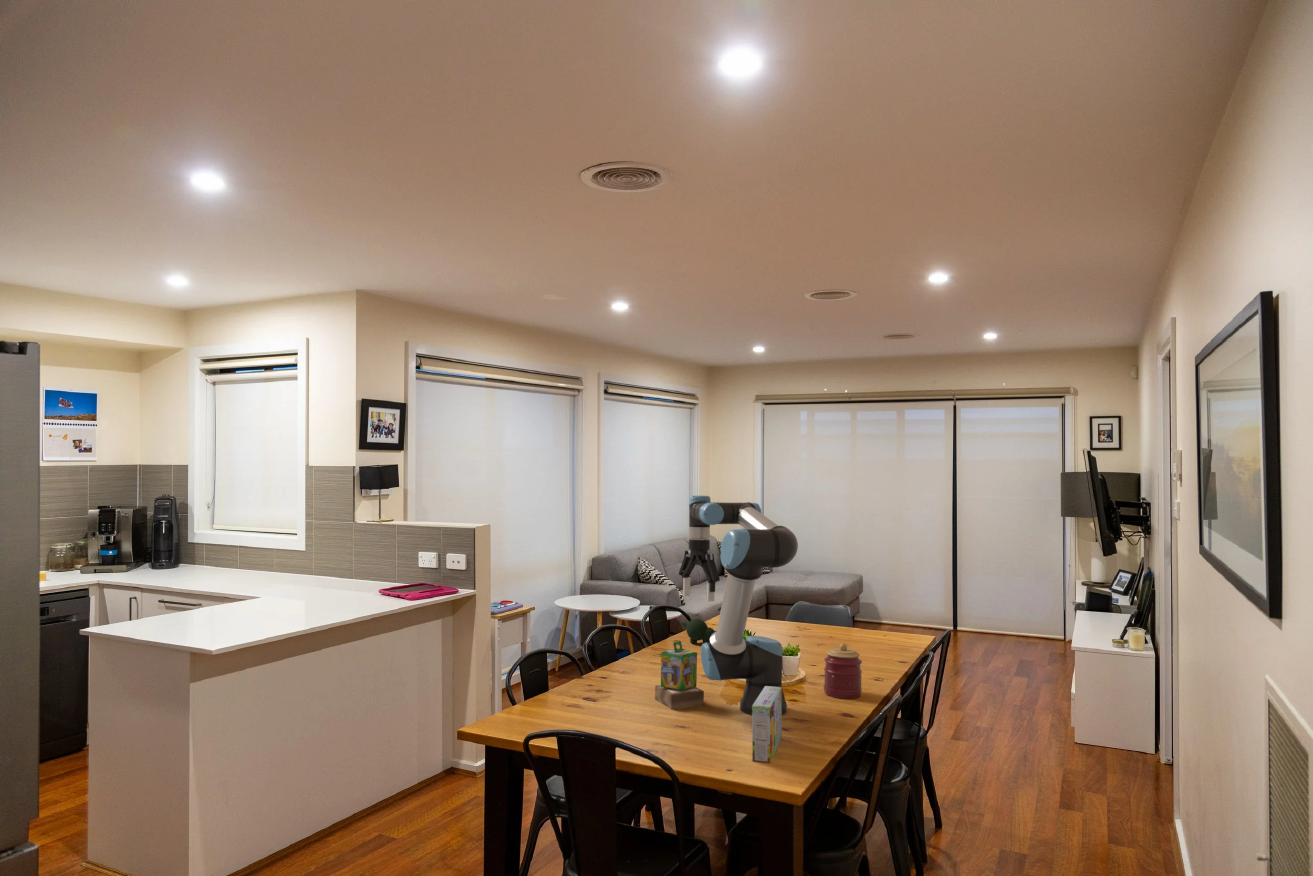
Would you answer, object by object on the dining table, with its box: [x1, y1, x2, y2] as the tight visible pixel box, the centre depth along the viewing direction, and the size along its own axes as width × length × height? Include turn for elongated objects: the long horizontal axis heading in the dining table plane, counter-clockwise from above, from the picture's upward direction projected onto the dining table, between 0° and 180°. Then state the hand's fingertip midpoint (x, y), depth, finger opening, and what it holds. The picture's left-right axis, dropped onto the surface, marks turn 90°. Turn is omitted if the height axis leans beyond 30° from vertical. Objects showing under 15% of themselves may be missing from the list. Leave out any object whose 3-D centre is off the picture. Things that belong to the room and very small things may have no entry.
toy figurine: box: [680, 606, 721, 645], centre depth 364 cm, size 9×19×25 cm
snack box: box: [751, 686, 783, 764], centre depth 230 cm, size 21×6×15 cm, turn 163°
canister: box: [823, 642, 863, 700], centre depth 288 cm, size 13×13×18 cm
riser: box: [654, 684, 705, 710], centre depth 274 cm, size 12×12×5 cm
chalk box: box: [660, 640, 698, 690], centre depth 275 cm, size 9×9×15 cm
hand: (698, 598), depth 293 cm, fingers open, 13 cm apart
